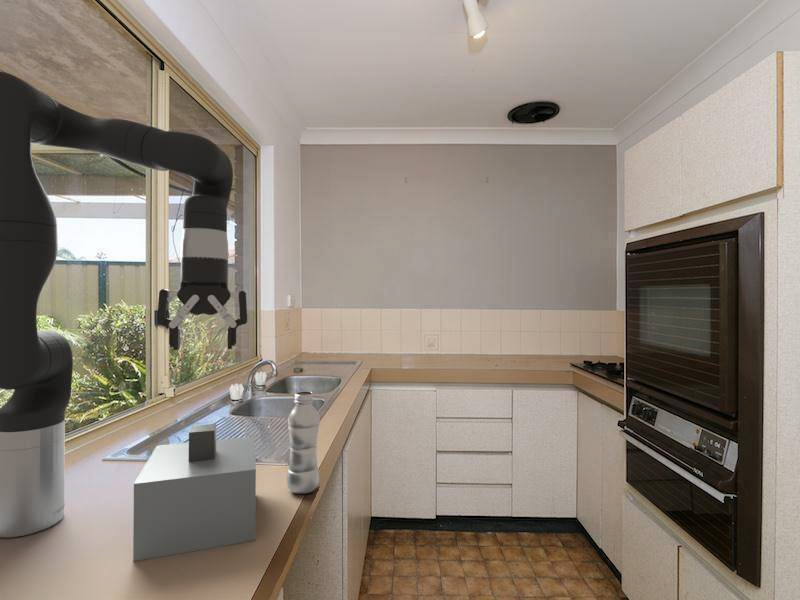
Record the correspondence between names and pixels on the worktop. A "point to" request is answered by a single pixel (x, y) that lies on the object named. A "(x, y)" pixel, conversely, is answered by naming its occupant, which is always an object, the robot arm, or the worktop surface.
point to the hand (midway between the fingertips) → (203, 349)
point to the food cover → (195, 495)
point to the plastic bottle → (303, 445)
